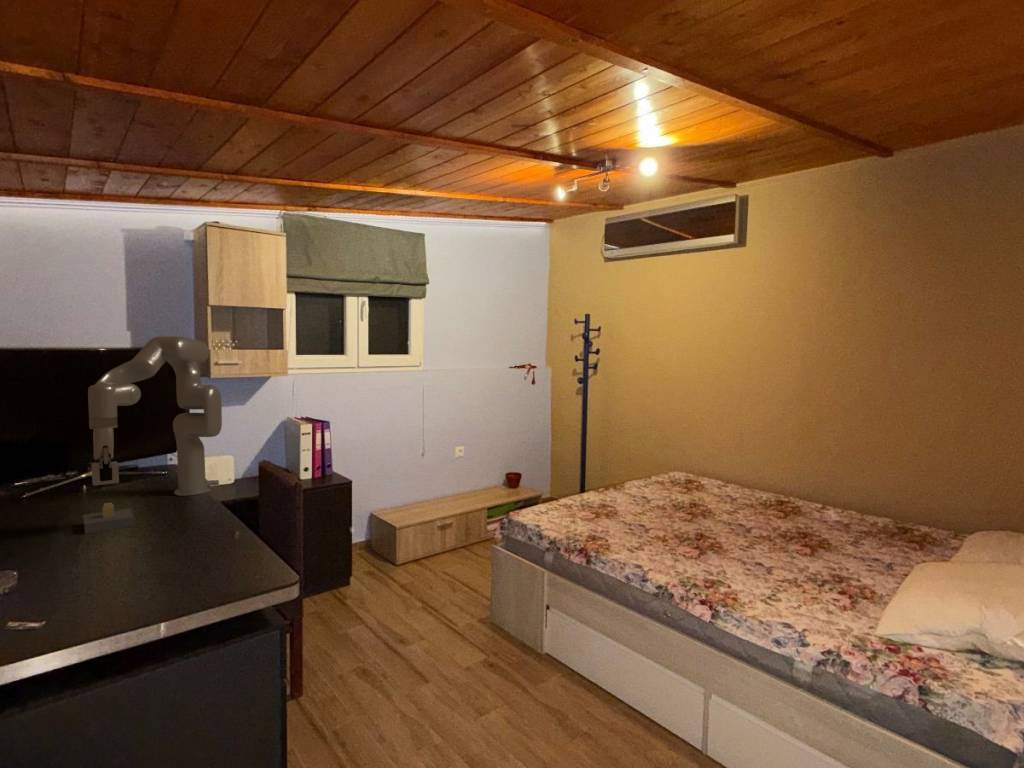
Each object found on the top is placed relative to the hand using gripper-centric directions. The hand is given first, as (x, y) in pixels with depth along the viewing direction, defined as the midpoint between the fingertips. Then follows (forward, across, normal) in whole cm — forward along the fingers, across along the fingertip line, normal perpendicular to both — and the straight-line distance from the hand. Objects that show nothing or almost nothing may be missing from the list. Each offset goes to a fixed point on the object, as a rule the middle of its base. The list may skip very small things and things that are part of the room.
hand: (105, 478), depth 195 cm
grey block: (+15, 0, 0) cm, 15 cm away
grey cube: (+1, 0, 0) cm, 1 cm away
